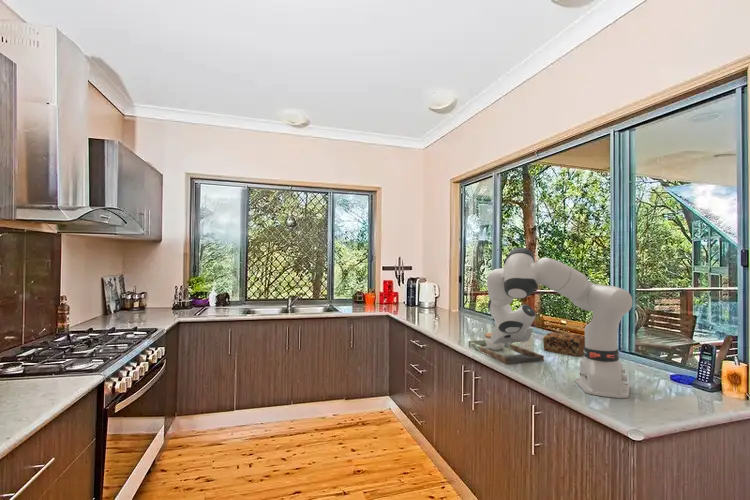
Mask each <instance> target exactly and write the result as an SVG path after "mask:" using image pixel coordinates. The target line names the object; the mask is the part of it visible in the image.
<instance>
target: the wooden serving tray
mask: <svg viewBox="0 0 750 500" xmlns="http://www.w3.org/2000/svg"><path fill="white" fill-rule="evenodd" d="M469 346H470V347H469ZM468 347H469V348H471V347H472V348H471V349H473V348H474V349H473V350H475V349H477V350H479V351H478V352H480V351H481V352H480V353H482V352H484V353H486V354H488V355H490V356H492V357H493V359H494V358H495V360H496V359H497V360H496V361H498V360H499V361H498V362H501V363H503V364H505V365H511V364H512V365H513V364H515V365H516V364H524V363H535V362H536V363H537V362H544V361H545V355H543V354H539V353H538V352H535V351H532V350H529V349H527V348H524V347H521V346H518V345H516V344H514V343H512V344H510V345H509V346H503V348H507V349H510V350H512V351H514V352H517V353H519V354H517V355H502V354H499V352H498V353H497V352H495V351H494V350H491V349H489V348H486V347H488V346H487V345H486V342H485V339H482V340H481V339H479V340H478V339H477V340H468ZM477 350H476V351H477ZM484 353H483V354H484ZM486 354H485V355H486ZM488 355H487V356H488ZM490 356H489V357H490ZM492 357H491V358H492Z"/></svg>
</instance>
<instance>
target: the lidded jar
mask: <svg viewBox="0 0 750 500" xmlns="http://www.w3.org/2000/svg"><path fill="white" fill-rule="evenodd" d="M493 333H494V332H487V333H484V340H485V342H486V345H487V346H486V347H488V349H489V350H491V351H502V348H504V346H503V343H499V344H493V342H492V340H491V336H492V334H493Z"/></svg>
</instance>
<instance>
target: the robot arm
mask: <svg viewBox="0 0 750 500" xmlns="http://www.w3.org/2000/svg"><path fill="white" fill-rule="evenodd" d="M539 285H542V286H544V287H546V288H548V289H550V290H552V291H553V292H555V293H557V294H559V295H561V296H562V297H563V296H564V297H565V298H567V299H569V300H570V301H571V302H572V304H573V305H574V306H575V307H577V308H579V309H581V310H584V311H586V312H587V311H588V312H593V315H592V318H591V320H590V322H589V323H587V324H586V325H585V327H584V337H585V346H584V349H583V352H584V355H583V356H584V357H583V358H581V359H580V360H579V377H575V378H574V382H575V383H576V384H577V385H578V387H580V389H581V390H582V391H583V392H584V393H585V394H588V395H594V396H598V397H599V396H600V397H605V398H617V399H627V398H629V397H630V389H631V388H630V387H631V385H630V383H627V382H628V375H626V374H625V373H626V369H624V367H623V363H622V362H621V361H620V353H619V349H618V329H619V325H620V323H621V320H622V318H623V317H624V316H625V315H626V314H627V313H629V312H630V310H631V309H632V307H633V297H632V295H631V293H630V292H629V291H627V290H626V289H624V288H621V287H618V286H614V285H605V284H597V283H594V282H591V281H590V280H588V278H587V276H586V275H585V274H584V273H583V272H581V271H579V270H577V269H575V268H573V267H571V266H569V265H567V264H566V263H564V262H561V261H560V260H559V261H558V260H556V259H553V258H551V257H541V258H539V259H538V260H535V255H534V253H533V252H532V250H530V249H528V248H527V247H526V248H525V247H516V248H514V249H512V250H510V251H509V253H508V255H507V256H506V258H505V259H504V260H503V267H502V268H495V269H492V270H491V271H490V272H489V273H488V275H487V281H486V287H487V294H488V296H489V301H488V304H487V308H488V310H489V312H490V314H491V315H492V317H493V319H494V322H495V324H496V329H495V330H494V331H493V332H492V333H493V334H492V336H491V340H492V342H493V344H499V343H503V347H504V346H509V345H510V344H514V343H523V342H528V341H529V340H530V338H531V337H532V333H533V332H534V329H532V328H531V326H532V324H533V322H534V320H535V319H536V312H535V310H534V309H533V307H531V306H530V305H528V304H522V305H521V306H520V307H519V308H518V309H516V310H514V311H513V309H512V306H511V305H510V304H512V303H513V302H514V300H523V299H526V298H528V297H530V296H531V295H532V294H533V293H535V292H537V291H538V289H539Z"/></svg>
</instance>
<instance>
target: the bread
mask: <svg viewBox="0 0 750 500" xmlns="http://www.w3.org/2000/svg"><path fill="white" fill-rule="evenodd" d="M542 342H543V345H542V346H543V350H544V351H546V352H550V353H553V354H554V353H556V354H561V355H567V356H572V357H582V356H584V352H583V349H584V346H585V335H582V334H575V333H569V332H567V333H563V332H548V333H547V334H546V335H545V336H543V338H542Z"/></svg>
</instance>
